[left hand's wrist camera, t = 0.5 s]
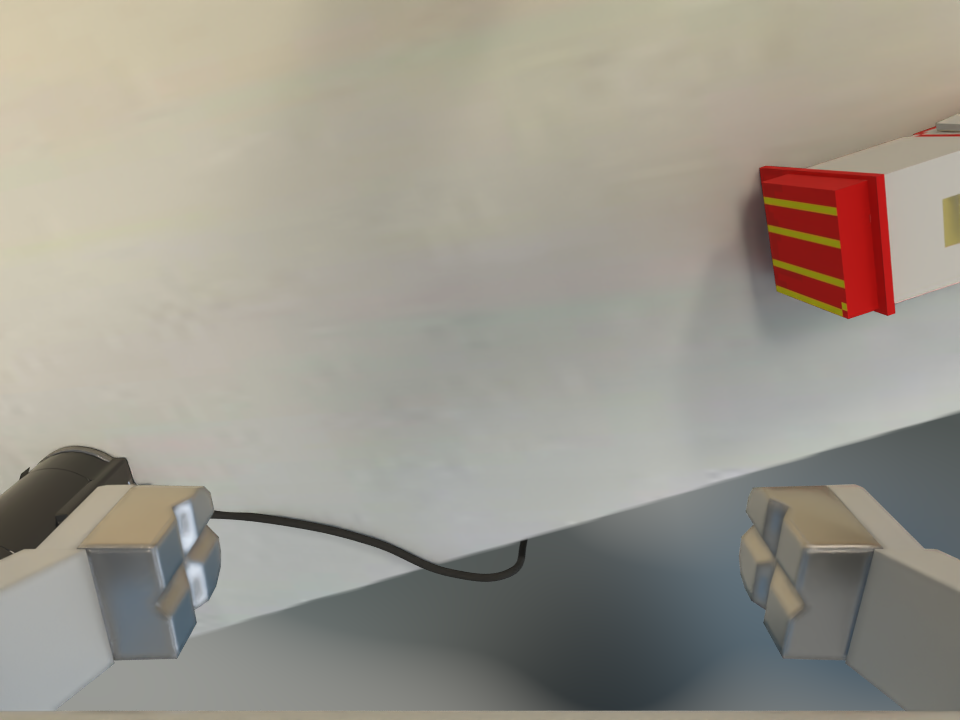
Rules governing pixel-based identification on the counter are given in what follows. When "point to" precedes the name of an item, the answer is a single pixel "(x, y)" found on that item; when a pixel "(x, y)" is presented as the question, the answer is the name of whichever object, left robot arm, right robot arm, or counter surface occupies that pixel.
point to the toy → (868, 223)
